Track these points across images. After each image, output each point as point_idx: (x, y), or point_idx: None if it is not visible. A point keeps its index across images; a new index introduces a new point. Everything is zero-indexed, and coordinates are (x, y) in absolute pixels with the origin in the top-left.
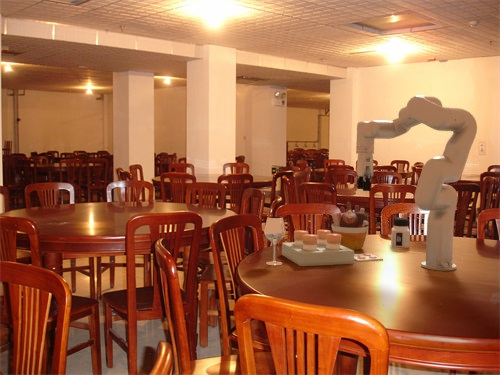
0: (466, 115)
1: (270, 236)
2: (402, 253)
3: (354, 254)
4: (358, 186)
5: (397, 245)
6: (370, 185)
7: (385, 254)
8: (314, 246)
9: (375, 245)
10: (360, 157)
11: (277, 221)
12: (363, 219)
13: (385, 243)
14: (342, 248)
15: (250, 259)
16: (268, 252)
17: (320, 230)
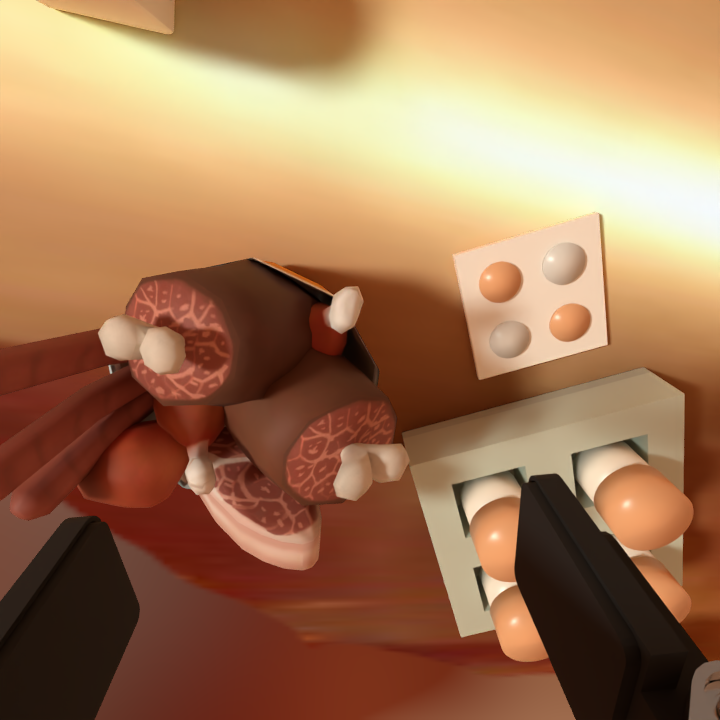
0: None
1: None
2: (403, 21)
3: (500, 346)
4: (117, 644)
5: None
6: (614, 558)
7: (438, 157)
8: (654, 557)
9: (139, 154)
10: None
11: None
12: (280, 324)
13: (29, 51)
14: (616, 437)
15: (525, 663)
16: (408, 627)
17: (506, 568)
